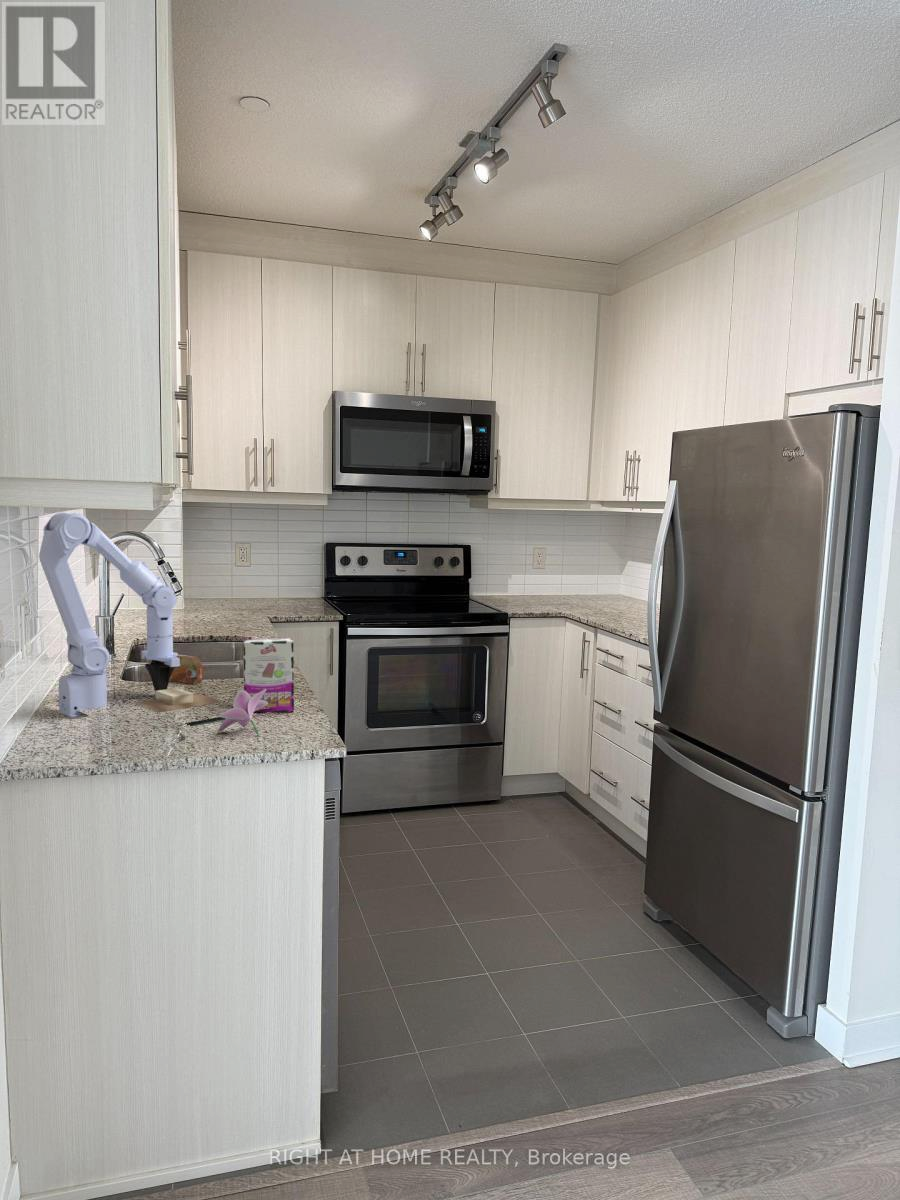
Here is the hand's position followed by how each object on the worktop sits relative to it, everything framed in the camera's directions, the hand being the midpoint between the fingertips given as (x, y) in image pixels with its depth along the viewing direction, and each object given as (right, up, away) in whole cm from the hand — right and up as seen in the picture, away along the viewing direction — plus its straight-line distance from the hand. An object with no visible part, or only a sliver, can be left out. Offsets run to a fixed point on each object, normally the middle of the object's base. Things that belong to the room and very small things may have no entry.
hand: (160, 693), depth 196 cm
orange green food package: (-2, -1, +18) cm, 18 cm away
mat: (+15, -4, -14) cm, 20 cm away
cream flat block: (+5, -1, -4) cm, 7 cm away
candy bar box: (+27, -4, -6) cm, 27 cm away
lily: (+26, -6, -25) cm, 36 cm away
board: (+6, -3, -6) cm, 9 cm away
